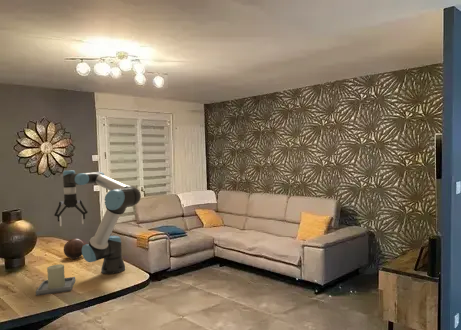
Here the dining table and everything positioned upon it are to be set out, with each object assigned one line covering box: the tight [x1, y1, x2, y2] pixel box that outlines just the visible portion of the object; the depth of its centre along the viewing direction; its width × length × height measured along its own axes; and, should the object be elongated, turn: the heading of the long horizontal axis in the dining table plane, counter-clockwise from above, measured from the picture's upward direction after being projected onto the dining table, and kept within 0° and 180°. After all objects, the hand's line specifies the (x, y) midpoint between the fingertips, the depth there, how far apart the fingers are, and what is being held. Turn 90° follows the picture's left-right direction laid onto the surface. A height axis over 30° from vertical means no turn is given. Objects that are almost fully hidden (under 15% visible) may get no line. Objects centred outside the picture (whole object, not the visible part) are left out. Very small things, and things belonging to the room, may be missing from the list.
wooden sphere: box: [63, 238, 85, 260], centre depth 273 cm, size 15×15×15 cm
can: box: [46, 263, 66, 289], centre depth 211 cm, size 9×9×12 cm
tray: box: [35, 276, 76, 297], centre depth 212 cm, size 18×18×2 cm
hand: (71, 225), depth 239 cm, fingers open, 13 cm apart
